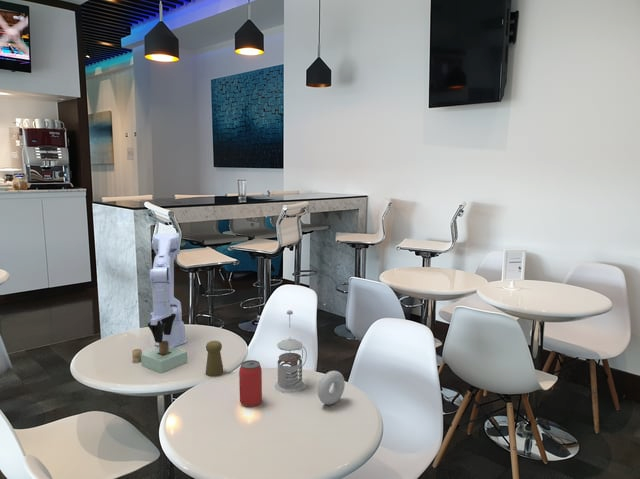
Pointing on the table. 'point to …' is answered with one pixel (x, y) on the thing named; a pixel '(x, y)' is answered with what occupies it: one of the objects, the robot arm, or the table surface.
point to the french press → (291, 381)
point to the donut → (326, 384)
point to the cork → (214, 359)
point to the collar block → (164, 359)
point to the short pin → (136, 355)
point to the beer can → (250, 383)
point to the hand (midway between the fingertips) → (163, 338)
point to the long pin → (163, 348)
